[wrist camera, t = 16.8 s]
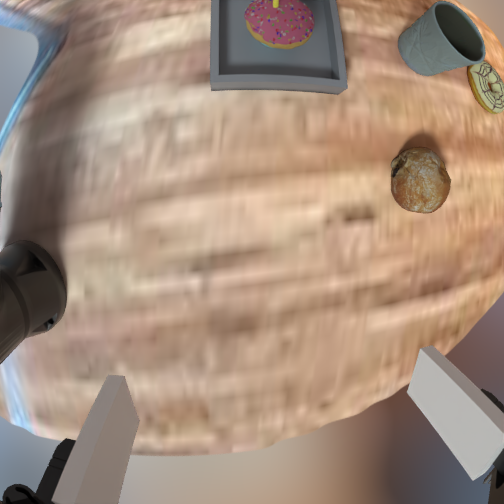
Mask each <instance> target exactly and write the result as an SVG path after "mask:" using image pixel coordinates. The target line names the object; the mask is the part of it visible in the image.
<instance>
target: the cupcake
mask: <svg viewBox="0 0 504 504" xmlns="http://www.w3.org/2000/svg"><path fill="white" fill-rule="evenodd" d="M244 18H245V19H246V26H247V29H248V30H249V32H250V33H251V35H252V36H253V37H254V38H255V39H256V40H258V41H260V42H261V43H262V44H263V45H265V46H267V47H270V48H279V49H293V48H295V47H298V46H301V45H303V44H305V43H306V42H307V41H308V40H309V38H310V37H311V35H312V33H313V28H314V16H313V13H312V11H311V10H310V8H308V7H307V5H306V4H304V3H302V2H301V1H299V0H255V1H253V2H251V3H250V4H249V6H248V7H247V9H245V14H244Z"/></svg>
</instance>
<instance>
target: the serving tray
mask: <svg viewBox="0 0 504 504" xmlns="http://www.w3.org/2000/svg"><path fill="white" fill-rule="evenodd" d="M253 1H255V0H211V40H210V84H211V91H220V90H285V91H303V92H316V93H327V94H337V95H338V94H340V93H341V92H343V91H344V90H346V89H347V88H348V86H347V75H346V66H345V57H344V49H343V42H342V34H341V28H340V21H339V15H338V9H337V4H336V0H299V1H301V2H302V3H304V4H306V5H307V7H308V8H310V10H311V11H312V13H313V16H314V28H313V33H312V35H311V37H310V38H309V40H308V41H307V42H306V43H305V44H303V45H301V46H298V47H295V48H293V49H279V48H270V47H267V46H265V45H263V44H262V43H261V42H260V41H258V40H256V39H255V38H254V37H253V36H252V35H251V33H250V32H249V30H248V29H247V26H246V19H245V18H244V14H245V9H247V7H248V6H249V4H250V3H251V2H253Z"/></svg>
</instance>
